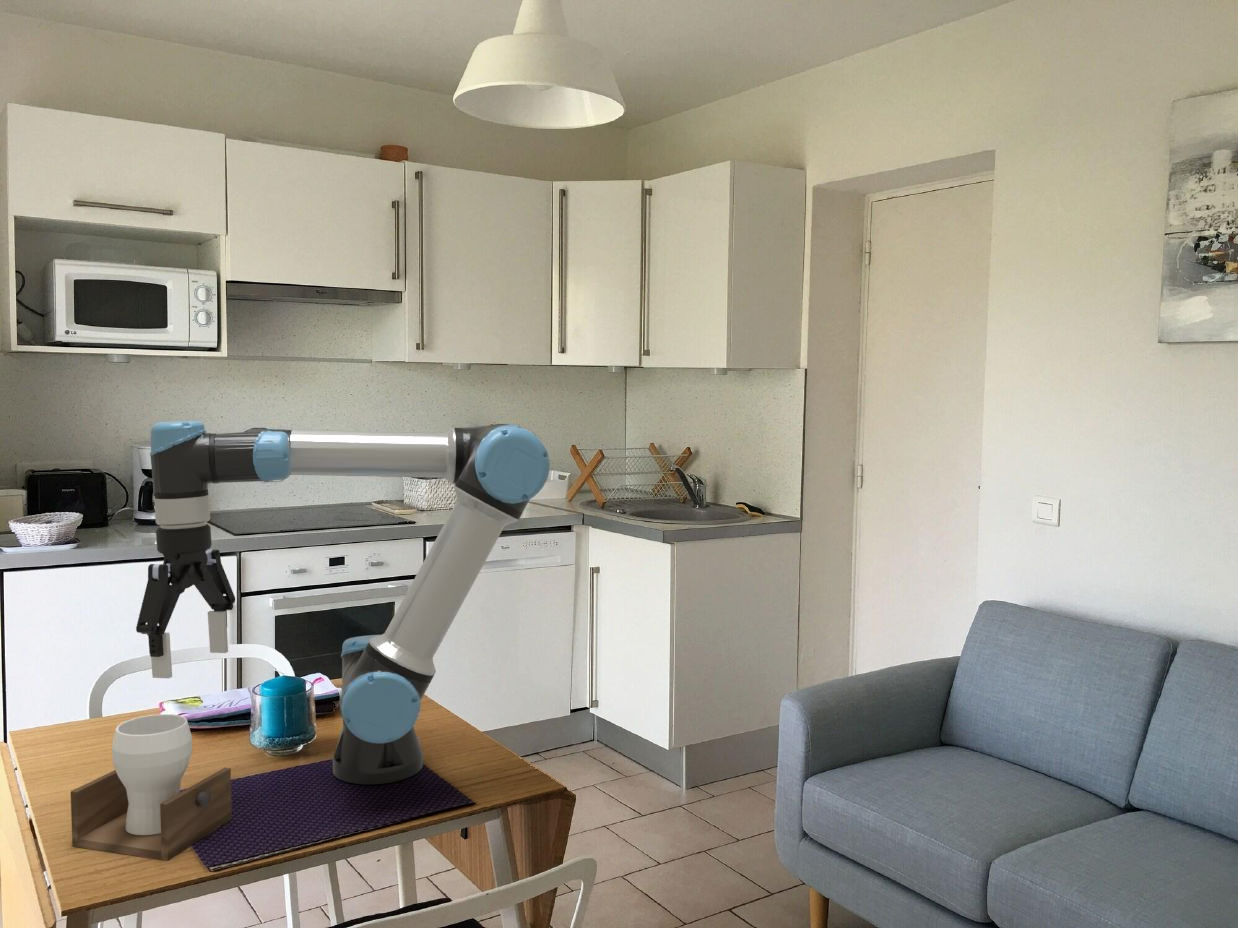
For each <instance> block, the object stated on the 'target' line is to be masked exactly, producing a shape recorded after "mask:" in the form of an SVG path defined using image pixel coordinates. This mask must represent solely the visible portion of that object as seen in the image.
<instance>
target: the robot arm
mask: <svg viewBox="0 0 1238 928" xmlns="http://www.w3.org/2000/svg"><path fill="white" fill-rule="evenodd" d="M149 457H150V464H151V476H152V477H151V478H152V489H153V497H154V499H153V500H154V515H155V516H154V517H155V524H156V525H158V526H159V527H158V528H156V530H155V535H156V536H155V537H156V550H157V552H158V553H160V554H162V555H163V563H151V564H149V565H148V566H147V582H146V587H145V590H144V595H143V598H142V603H141V607H140V610H139V614H138V619H137V623H136V627H135V630H136V633H138V634H139V633H140V634H142V635H147V637H148V649H149V650H148V653H149V656H150V661H151V662H150V663H151V674H152V675H151V676H152V678H153V679H171V678H173V668H172V667H173V666H172V651H171V638H170V637H171V635H170V634H171V633H170V632H166V629H167V627H168V625H169V623H170V620H171V618H172V615H173V613H174V610H175V607H176V606H177V603H178V600H179V598H180V596H181V595H182V594H183V593H184V592H185V591H186V589H189V588H191V587H193V586H195V588H196V590H197V591H198V592H199V594H200V595H201V597H202V598H203V599H204V600H205V602H206V603H207V605H208V606H209V607H210V608H211V610H209V611H207V622H208V624H207V626H208V638H209V639H208V642H209V653H211V654H212V653H213V654H215V653H217V654H227V653H229V643H228V640H229V639H228V618H227V617H228V615H227V613H228V612H227V611H232V610H233V608H234V604H235V602H236V596H235V594H234V591H233V589H232V586H231V584H230V581H229V578H228V576H227V574H226V572H225V569H224V566H223V564H222V560H221V559H222V558H221V553H220V550H219V549H211V547H212V545H213V544H212V543H213V542H212V531H211V530H212V529H211V526H210V525H209V524H208V523H207V522H209V521H210V520H211V509H210V496H209V484H221V483H222V484H223V483H224V484H225V483H250V482H251V483H253V482H264V483H269V482H273V481H282V480H287V479H288V478H289V477H290V476H324V477H325V476H329V477H332V476H333V477H335V476H338V477H339V476H340V477H344V476H345V477H383V478H384V477H385V478H386V477H387V478H391V477H392V478H435V479H436V478H440V479H441V478H442V479H443V478H444V479H445V480H446V481H448V482H449V483H450V484H452V485H453V484H454V486H453V488H454V493H455V496H456V502H455V504H454V505H453V507H452V510H450V513H449V515H448V516H447V519H446V520H445V522H444V524H443V526H442V527H441V530H440V531H439V532H438V535H437V537H436V538H435V540H434V542H433V544H432V546H431V547H430V549H429V551H428V553H427V555H426V557H425V559H424V560H423V563H422V565H421V566H420V568H419V569H418V572H417V574H415V577H414V579H413V581H412V582H411V584H410V586H409V587H408V589H407V592H406V593H405V595H404V598H403V599H402V601H401V602H400V604H399V606H398V608H397V609H396V612H395V614H394V615H393V617H392V619H391V621H390V623H389V624H388V627H387V628H386V630H385V631H384V633H382V634H372V635H361V636H354V637H349V638H347V639H345V640H344V641H343V643H342V646H341V647H342V648H341V649H342V650H341V654H340V658H341V666H342V669H341V674H342V675H341V680H342V682H341V697H340V703H339V706H340V707H339V709H340V713H341V717H342V730H341V732H340V735H339V738H338V741H337V745H336V748H335V751H334V753H333V757H332V774H333V776H335V778H336V779H338V780H341V781H342V782H346V783H350V784H356V785H382V784H384V785H385V784H389V783H395V782H399V781H402V780H406V779H408V778H409V779H410V778H411V777H413V776H416V774H418V773H419V772H420V771H421V770H422V769H423V766H424V752H423V750H422V746H421V743H420V740H419V737H418V735H417V731H416V729H415V724H416V722H417V720H418V718H419V714H420V711H421V707H422V706H421V701H422V699H423V698H424V695H425V693H426V692H427V690H428V687H429V686H430V684H431V682H432V680H433V678H434V676H435V675H436V673H437V671H436V667H435V664H434V657H435V654H436V653H437V651H438V650H439V647H441V643H442V642H443V640H444V638H445V637H446V634H447V632H448V631H449V629H450V627H451V625H452V623H453V622H454V620H455V618H456V616H457V614H459V611H460V608H461V607H462V605H463V604H464V601H465V600H466V598H467V596H468V594H469V592H470V591H471V589H472V587H473V585H474V584H475V581H476V579H477V577H478V576H479V574H480V573H481V570H482V568H483V567H484V565H485V562H486V561H487V559H488V557H489V556H490V554H491V552H492V550H493V548H494V547H495V545H496V543H497V541H498V539H499V538H500V535H501V534H502V531H503V530H504V527H506V526H508V525H511V524H513V523H517V522H519V520H520V518H521V517H522V515H523V513H524V511H525V509H526V507H527V505H528V503H529V502H530V500H531V499H533V498H534V497H536V495H537V494H539V493H540V491H542V489H543V488H544V486H545V485H546V484H547V480H548V477H549V474H550V468H551V467H550V466H551V465H550V456H549V452H548V450H547V448H546V446H545V445H544V443H543V442H542V440H541V439H540V438H539V437H538V436H537V435H536V434H535V433H534V432H531V431H530V430H529V429H527V428H524V427H522V426H520V425H514V424H513V425H511V424H507V423H496V424H489V425H482V426H472V427H451V428H450V429H449V430H447V431H446V432H440V433H439V432H409V431H408V432H406V431H405V432H403V431H401V432H400V431H368V430H367V431H364V430H357V431H356V430H328V429H327V430H325V429H324V430H323V429H322V430H321V429H284V428H283V429H282V428H281V429H280V428H279V429H278V428H276V429H275V428H267V427H251V428H249V429H246V430H244V431H243V432H242V431H241V432H240V431H239V432H226V433H211V432H207V430H206V429H205V424H204V422H202V421H200V420H179V421H177V420H176V421H160V422H157V423H155V424H153V425H152V427H151V429H150V453H149Z"/></svg>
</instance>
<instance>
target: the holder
mask: <svg viewBox="0 0 1238 928" xmlns="http://www.w3.org/2000/svg"><path fill="white" fill-rule="evenodd" d="M231 772H232V771H231V767H223V768H221V769H219V770H218V771H216V772H214V773H213V774H210V775H209V776H207V777H205V778H204V779H202V780H200V781H199V782H197V783H194V784H193V785H190V786H189V787H187V788H185V789H183V790H182V791H180V793H178V794H177V795H175V796H173V797H171V798H169V799H168V800H166V801H164V802H162V803H160V815H161V833H159V834H153V835H134V834H131V833H128V832H127V831H126V829H125V826H126V817H127V811H128V804H129V803H128V797H127V792H126V788H125V786H124V785H123V783H122V782H121V780H120V779H119V777H118V775H117V772H116V770H115V769H114V770H112V771H110V772H108V773H105V774H103V775H102V776H100V777H97V778H95V779H93V780H91V781H90V782H87V783H85V784H83V785H81V786H79V787H76V788H74V789H73V790H71V791H70V813H71V814H70V817H71V818H70V819H71V844H72V847H75V848H82V849H87V850H88V849H89V850H95V851H101V852H108V853H115V854H119V855H128V856H133V857H140V858H147V859H154V860H159V861H160V860H161V861H167V862H168V861H170V860H172V858H173V859H174V857H176V856H178V855H180V854H181V853H182V852H184V851H185V850H187V849H188V848H190V847H192V846H194V845H196V843H198V842H200V841H201V840H203V839H204V838H206V837H207V836H208V834H209V833H210V832H212V831H213V832H215V831H216V830H215V829H217V828H218V827H219V826H221V825H223V824H224V825H226V824H228V823H229V822H230V821H229V820H231V819H232V817H233V816H232V773H231ZM232 820H233V819H232ZM232 820H231V821H232ZM228 821H229V822H228ZM225 823H226V824H225ZM224 825H223V826H224ZM221 827H222V826H221ZM218 829H219V828H218ZM218 829H217V830H218ZM214 830H215V831H214ZM213 832H212V833H213ZM210 834H211V833H210ZM210 834H209V835H210ZM205 836H206V837H205ZM203 837H204V838H203ZM202 838H203V839H202ZM200 839H201V840H200Z"/></svg>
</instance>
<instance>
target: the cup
mask: <svg viewBox="0 0 1238 928" xmlns="http://www.w3.org/2000/svg"><path fill="white" fill-rule="evenodd" d="M111 753H112V754H111V755H112V764H113V766H114V770H116V772H117V775H118V777H119V779H120V780H121V782H122V783H123V785H124V786H125V788H126V792H127V797H128V803H129V804H128V811H127V817H126V826H125V829H126V831H127V832H128V833H131V834H134V835H153V834H159V833H161V815H160V803H162V802H164V801H166V800H168V799H169V798H171V797H173V796H175V795H177V794H178V793H180V792H181V783H182V779H183V777H184V775H185V773H186V770H187V768H188V766H189V763H190V760H191V756H192V753H193V736H192V733H191V729H190V726H189V722H188V719H187V717H185V716H182V715H179V714H173V713H172V714H170V713H164V714H163V713H160V714H159V713H157V714H151V715H150V714H149V715H144V716H139V717H138V716H137V717H134V718H131V719H128V720H126V721H122V722H121V723H120V724H118V725H117V726H116V727H115V730H114V735H113V741H112V744H111Z"/></svg>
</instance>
